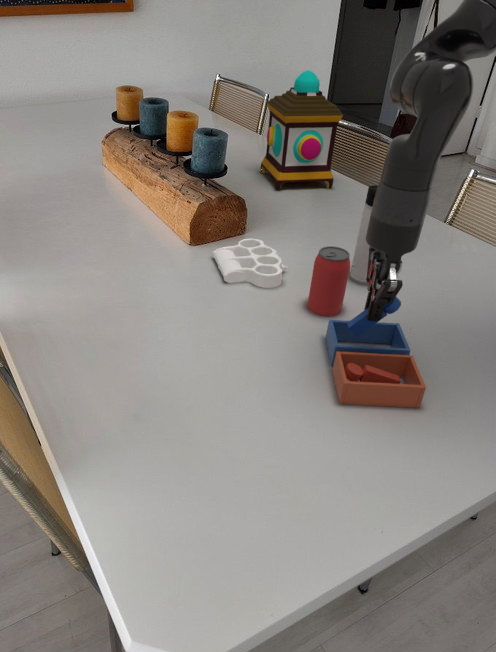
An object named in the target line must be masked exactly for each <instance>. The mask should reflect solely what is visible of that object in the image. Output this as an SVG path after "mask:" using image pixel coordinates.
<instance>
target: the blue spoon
mask: <svg viewBox="0 0 496 652" xmlns="http://www.w3.org/2000/svg"><path fill="white" fill-rule="evenodd" d="M401 306H402V301H401V300H400V299H399V298H398V297H397V296H396V297H395V298H394V300H393V302H392V303H391V304H385V306H384V310H383V313H382V317H381V320H383V319H384V318H386V316H388V315H392V314H395V313H396V312H397V311H398V310H399V309H400V308H401ZM368 308H369V307H368ZM368 308H367V309H365V310H364V309H363V311H361V312H360V313H358V314H357V315H355V317H353V318H352V319H351V320H348V321H349V322H348V323H347V324H348V327H349V329H350V330H351V331H352V332H353V333H354V334H355V335H356V336H359V335H360V334H362V333H363V332H364V331H366V330H367V329H369V328H370V327H371V326H373V325H374V324H376V323H377V322H379V321H368V320H367V312H368Z"/></svg>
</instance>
